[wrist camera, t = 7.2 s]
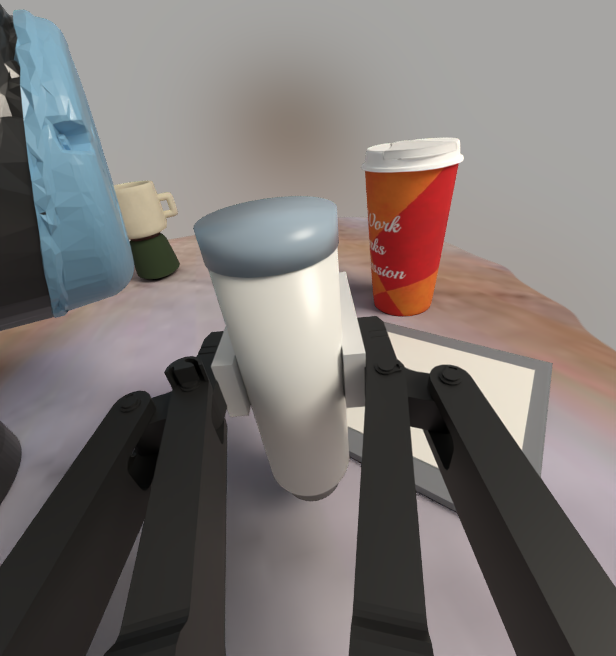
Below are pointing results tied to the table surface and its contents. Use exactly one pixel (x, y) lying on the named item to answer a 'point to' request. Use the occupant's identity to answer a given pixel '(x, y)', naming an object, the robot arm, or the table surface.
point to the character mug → (147, 228)
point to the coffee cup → (408, 218)
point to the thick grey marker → (285, 330)
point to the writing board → (494, 382)
